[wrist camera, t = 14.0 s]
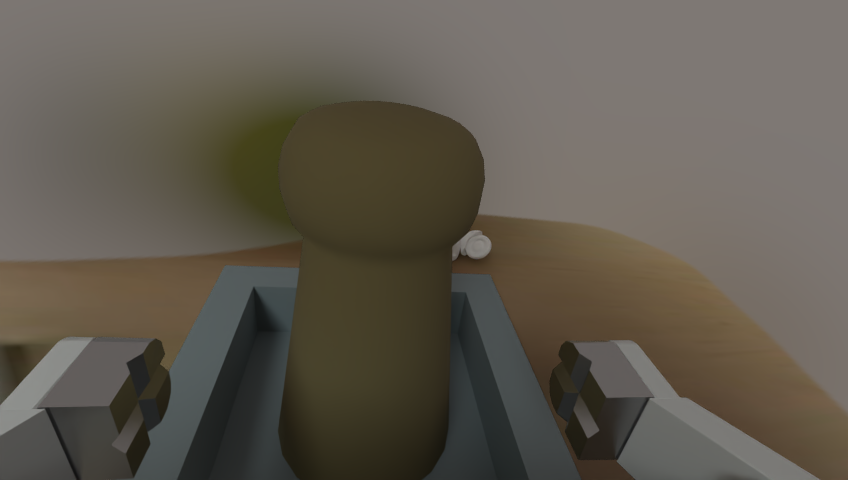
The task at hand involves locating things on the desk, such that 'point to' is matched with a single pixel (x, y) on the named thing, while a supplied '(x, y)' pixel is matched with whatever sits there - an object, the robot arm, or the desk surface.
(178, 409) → the tray
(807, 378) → the desk surface
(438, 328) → the cork
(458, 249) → the figurine
